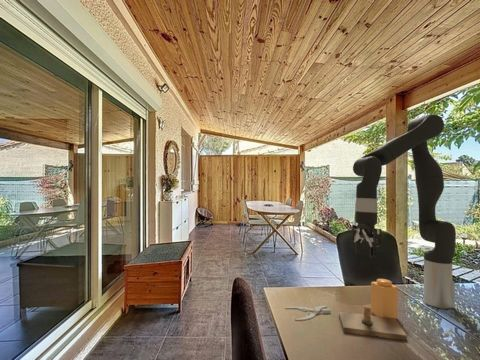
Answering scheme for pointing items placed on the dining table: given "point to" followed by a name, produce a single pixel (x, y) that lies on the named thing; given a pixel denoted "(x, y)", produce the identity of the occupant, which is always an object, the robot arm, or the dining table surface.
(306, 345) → the dining table surface
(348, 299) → the dining table surface
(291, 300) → the dining table surface
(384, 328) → the board
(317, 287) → the dining table surface
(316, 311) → the pliers
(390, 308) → the orange toy brick
